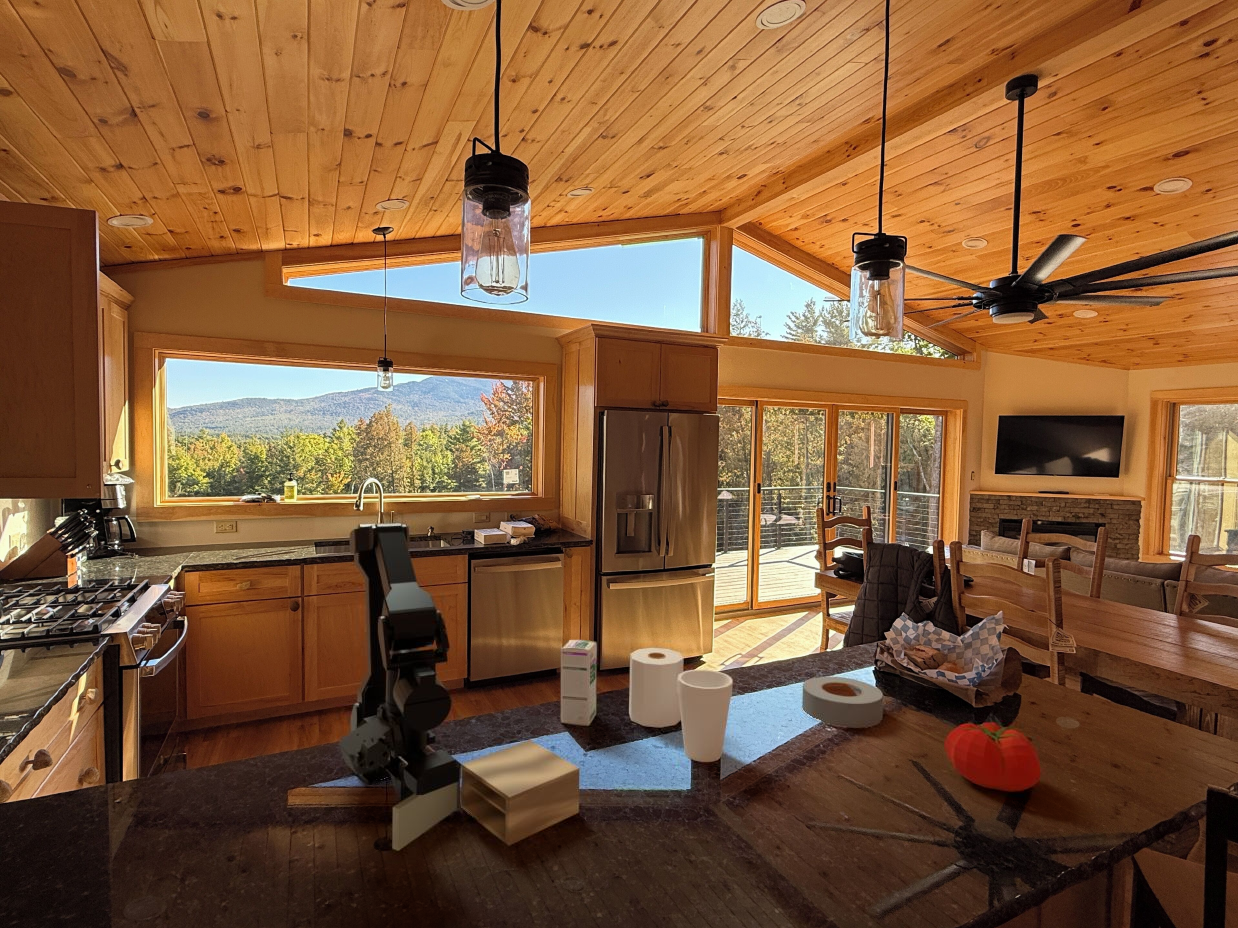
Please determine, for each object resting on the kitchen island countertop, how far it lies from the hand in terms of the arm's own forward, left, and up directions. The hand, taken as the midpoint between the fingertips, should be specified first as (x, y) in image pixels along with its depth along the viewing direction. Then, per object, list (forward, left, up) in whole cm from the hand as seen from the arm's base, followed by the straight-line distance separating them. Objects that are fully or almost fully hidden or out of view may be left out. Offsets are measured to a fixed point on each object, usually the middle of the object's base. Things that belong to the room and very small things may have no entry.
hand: (404, 810), depth 91 cm
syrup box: (-13, +42, -3) cm, 44 cm away
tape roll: (+19, +84, -4) cm, 86 cm away
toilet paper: (-4, +54, -3) cm, 54 cm away
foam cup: (+12, +49, -3) cm, 50 cm away
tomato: (+49, +77, -3) cm, 91 cm away
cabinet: (+6, +15, -3) cm, 16 cm away
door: (+1, +3, -3) cm, 4 cm away
